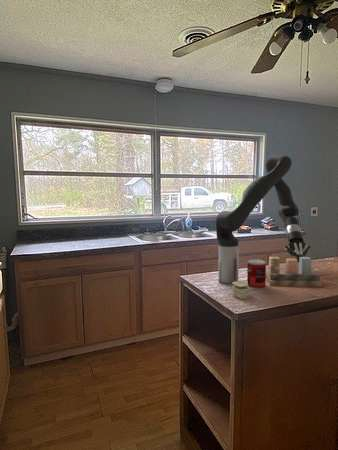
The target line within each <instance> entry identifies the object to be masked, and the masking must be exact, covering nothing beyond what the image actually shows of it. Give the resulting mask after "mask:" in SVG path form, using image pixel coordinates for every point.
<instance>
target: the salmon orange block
mask: <svg viewBox="0 0 338 450" xmlns="http://www.w3.org/2000/svg"><path fill="white" fill-rule="evenodd" d="M298 265H299V262H298V260H297V259H296V258H286V259H285V272H286V274H297V272H298V269H299V266H298Z"/></svg>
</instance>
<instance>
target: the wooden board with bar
mask: <svg viewBox="0 0 338 450" xmlns="http://www.w3.org/2000/svg"><path fill="white" fill-rule="evenodd" d="M266 281H267V283H268V284H269V286H271V287H272V286H274V287H276V286H277V287H314V286H315V287H317V288H319V287H320V288H321V287H323V286H324V285H323V284H324V283H323V281H322V280H321V275H320V274H319V273H317V274H316V273H315V274H313V273H312V272H311V274H299V271H297V274H286V271H280V273H279V274H270V273H269V271H266Z"/></svg>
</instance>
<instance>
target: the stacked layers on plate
mask: <svg viewBox="0 0 338 450" xmlns="http://www.w3.org/2000/svg"><path fill="white" fill-rule="evenodd" d="M231 284H233V285H231V287H232V290H231V292H232V297H236V298H237V299H240V300H243V299H248V295H249V293H248V290H249V287H248V286H249V285H248V283H247V281H245V280H238V281H236V282H232V283H231Z"/></svg>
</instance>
